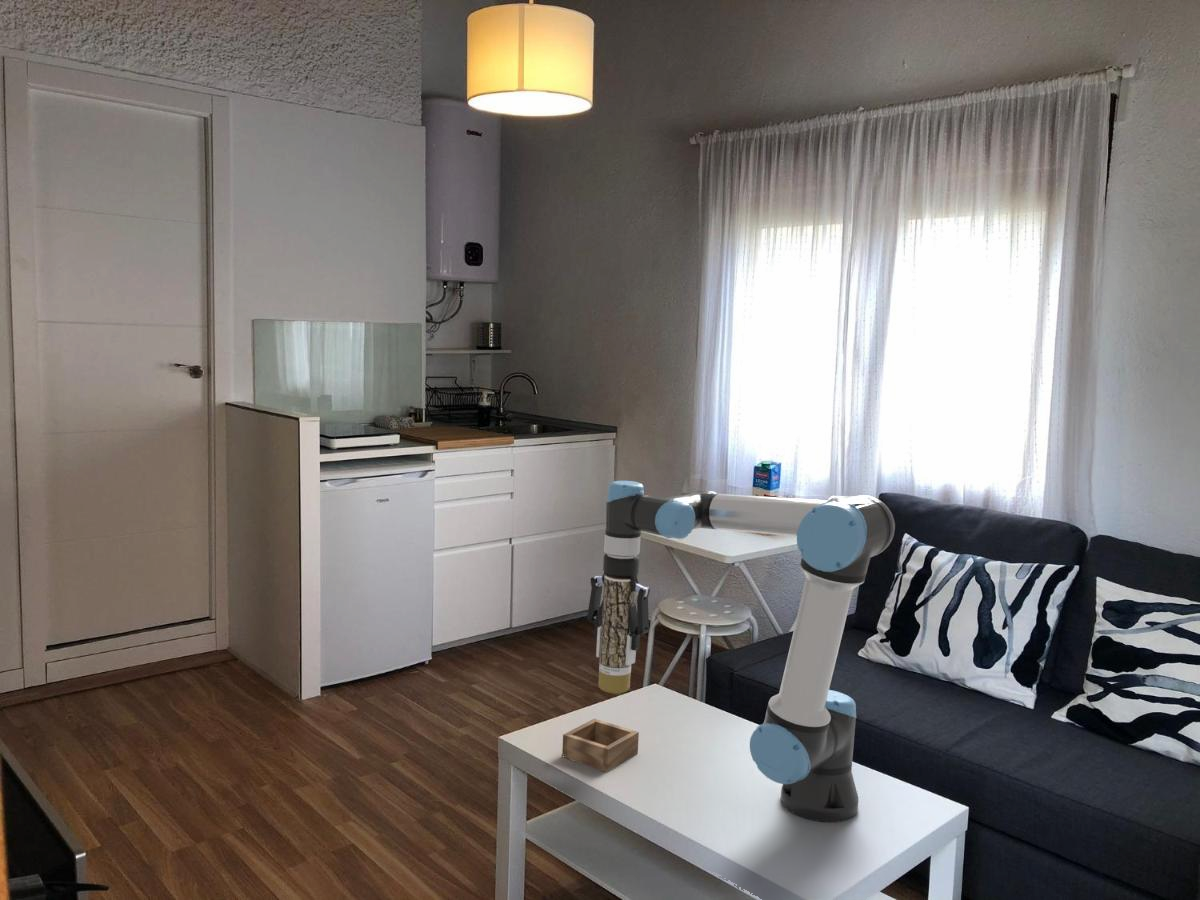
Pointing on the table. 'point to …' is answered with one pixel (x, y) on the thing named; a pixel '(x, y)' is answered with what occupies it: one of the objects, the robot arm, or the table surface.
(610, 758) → the holder
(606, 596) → the paper tube
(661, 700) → the table surface
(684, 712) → the table surface
